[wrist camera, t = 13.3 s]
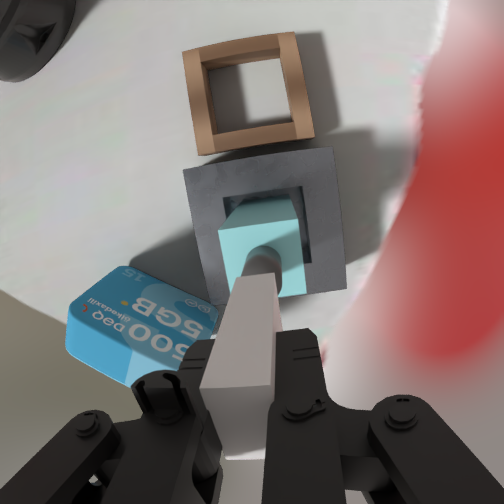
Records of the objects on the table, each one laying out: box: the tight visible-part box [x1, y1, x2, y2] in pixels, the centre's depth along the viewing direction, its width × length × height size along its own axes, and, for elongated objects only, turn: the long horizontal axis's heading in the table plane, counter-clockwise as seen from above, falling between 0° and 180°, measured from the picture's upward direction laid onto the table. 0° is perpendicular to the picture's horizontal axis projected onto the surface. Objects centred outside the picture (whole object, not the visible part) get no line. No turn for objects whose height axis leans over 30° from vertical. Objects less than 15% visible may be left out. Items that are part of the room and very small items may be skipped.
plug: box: [218, 194, 307, 297], centre depth 22 cm, size 4×4×15 cm
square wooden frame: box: [182, 32, 315, 156], centre depth 25 cm, size 10×10×3 cm
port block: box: [183, 146, 347, 306], centre depth 28 cm, size 12×12×5 cm
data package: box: [65, 266, 218, 388], centre depth 28 cm, size 12×4×12 cm, turn 66°
